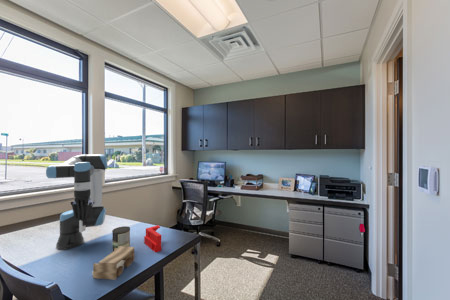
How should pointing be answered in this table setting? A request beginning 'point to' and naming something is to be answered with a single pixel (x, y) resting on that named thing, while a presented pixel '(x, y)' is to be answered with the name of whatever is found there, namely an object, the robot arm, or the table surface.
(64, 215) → the robot arm
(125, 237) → the coffee can
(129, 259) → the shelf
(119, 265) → the panel
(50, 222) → the table surface
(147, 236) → the bracket
